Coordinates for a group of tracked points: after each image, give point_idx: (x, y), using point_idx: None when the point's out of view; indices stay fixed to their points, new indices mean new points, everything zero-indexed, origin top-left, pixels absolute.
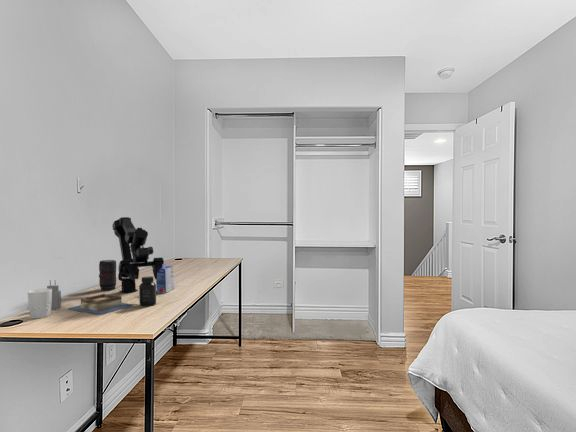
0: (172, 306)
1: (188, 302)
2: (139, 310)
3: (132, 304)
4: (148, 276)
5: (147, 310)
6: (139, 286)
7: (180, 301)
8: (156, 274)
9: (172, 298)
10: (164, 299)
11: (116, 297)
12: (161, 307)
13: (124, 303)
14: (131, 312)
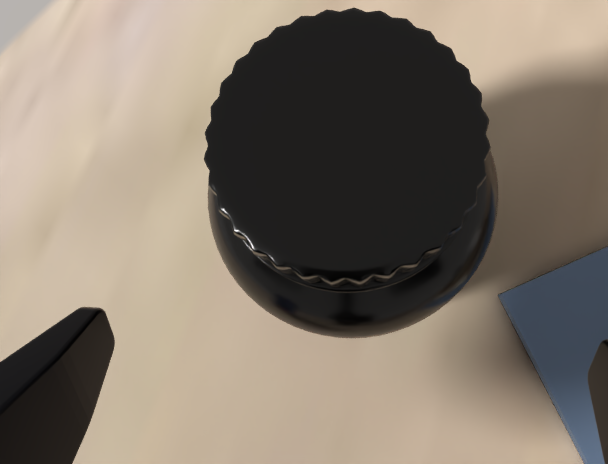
0: (191, 17)
1: (11, 71)
2: (498, 59)
3: (513, 307)
4: (286, 227)
5: (433, 13)
6: (497, 200)
7: (44, 158)
8: (22, 356)
9: None
10: (121, 364)
11: None
12: None
13: (586, 428)
14: (586, 31)
